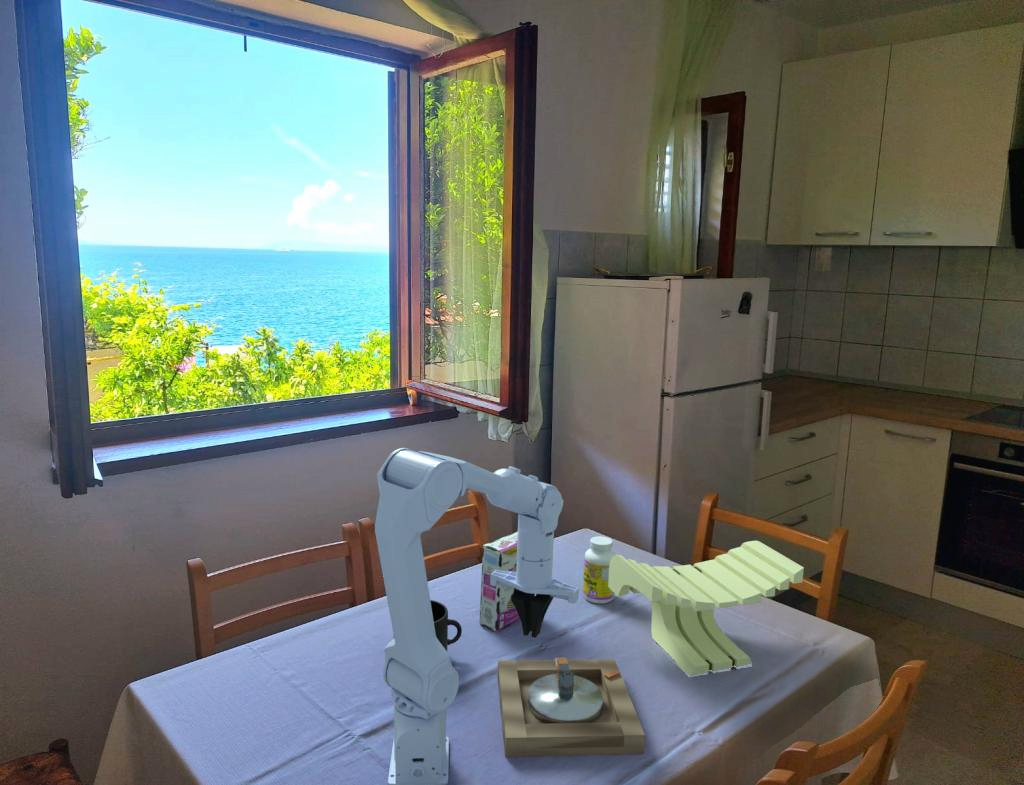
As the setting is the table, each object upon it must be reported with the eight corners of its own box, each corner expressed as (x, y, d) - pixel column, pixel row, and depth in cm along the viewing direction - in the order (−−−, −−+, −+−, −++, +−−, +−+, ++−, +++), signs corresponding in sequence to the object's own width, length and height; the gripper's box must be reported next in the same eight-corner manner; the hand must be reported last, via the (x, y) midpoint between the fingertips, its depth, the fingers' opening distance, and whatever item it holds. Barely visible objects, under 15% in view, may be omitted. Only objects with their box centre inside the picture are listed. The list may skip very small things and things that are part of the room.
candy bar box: (498, 634, 134) (500, 552, 131) (478, 625, 137) (480, 544, 135) (534, 613, 143) (537, 535, 140) (515, 605, 146) (517, 529, 143)
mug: (465, 670, 122) (466, 621, 120) (395, 676, 119) (395, 627, 118) (457, 641, 131) (458, 596, 129) (391, 647, 128) (391, 601, 127)
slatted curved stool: (740, 618, 143) (748, 534, 140) (793, 660, 128) (803, 567, 125) (605, 637, 134) (610, 548, 131) (645, 684, 119) (652, 585, 116)
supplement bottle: (576, 593, 152) (579, 536, 150) (603, 588, 155) (606, 532, 153) (593, 607, 146) (596, 548, 144) (620, 601, 149) (623, 543, 147)
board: (643, 753, 102) (645, 731, 102) (505, 757, 101) (505, 734, 100) (613, 675, 122) (614, 656, 121) (497, 676, 120) (498, 657, 120)
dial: (609, 726, 106) (611, 696, 105) (531, 728, 105) (533, 697, 104) (594, 682, 117) (596, 654, 116) (524, 683, 116) (525, 654, 115)
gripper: (586, 554, 114) (582, 632, 116) (503, 538, 119) (501, 613, 122) (571, 570, 107) (567, 653, 110) (485, 552, 113) (483, 631, 115)
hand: (531, 633), depth 115 cm, fingers closed
